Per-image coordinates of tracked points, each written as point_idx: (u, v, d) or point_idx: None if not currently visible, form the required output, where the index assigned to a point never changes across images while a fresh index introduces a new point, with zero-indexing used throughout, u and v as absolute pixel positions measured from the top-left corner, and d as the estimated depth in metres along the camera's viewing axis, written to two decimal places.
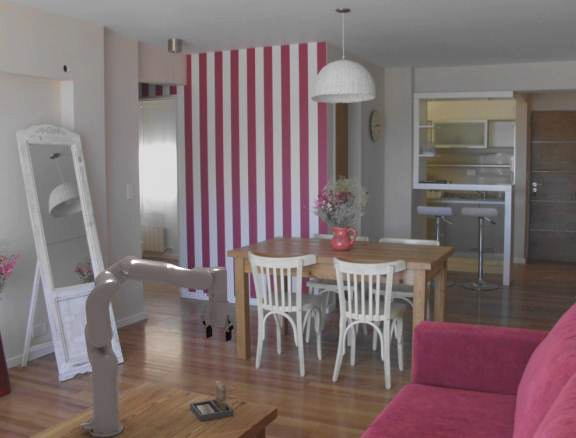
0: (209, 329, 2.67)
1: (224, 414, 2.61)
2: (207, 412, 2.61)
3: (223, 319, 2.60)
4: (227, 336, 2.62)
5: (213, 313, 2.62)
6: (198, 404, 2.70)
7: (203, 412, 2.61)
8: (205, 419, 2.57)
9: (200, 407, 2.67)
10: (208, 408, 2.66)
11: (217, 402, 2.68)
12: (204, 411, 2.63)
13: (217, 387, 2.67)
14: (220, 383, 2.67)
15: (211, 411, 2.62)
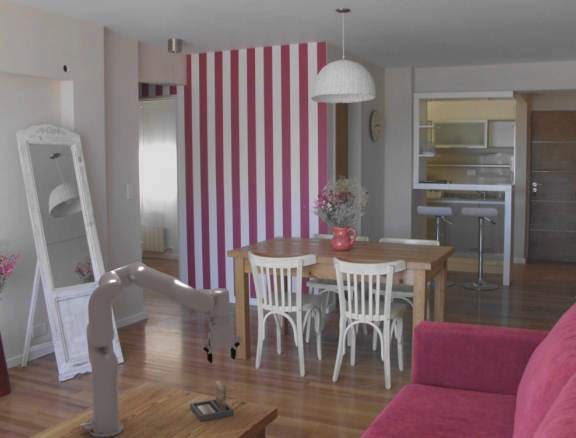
0: None
1: (224, 414, 2.61)
2: (208, 412, 2.62)
3: (233, 338, 2.64)
4: (234, 354, 2.66)
5: (222, 335, 2.62)
6: (198, 404, 2.70)
7: (204, 412, 2.61)
8: (205, 419, 2.57)
9: (201, 407, 2.67)
10: (208, 408, 2.66)
11: (217, 402, 2.68)
12: (205, 411, 2.63)
13: (217, 387, 2.67)
14: (220, 383, 2.67)
15: (212, 411, 2.62)
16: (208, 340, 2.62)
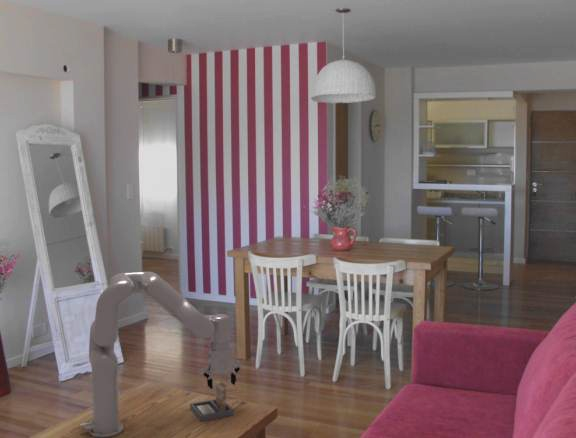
0: None
1: (224, 414, 2.61)
2: (208, 412, 2.61)
3: (233, 364, 2.65)
4: (234, 379, 2.68)
5: (222, 361, 2.63)
6: (198, 404, 2.70)
7: (204, 412, 2.61)
8: (205, 419, 2.57)
9: (200, 407, 2.66)
10: (208, 408, 2.66)
11: (217, 402, 2.68)
12: (205, 411, 2.63)
13: (217, 387, 2.67)
14: (220, 383, 2.67)
15: (212, 411, 2.62)
16: (208, 366, 2.63)
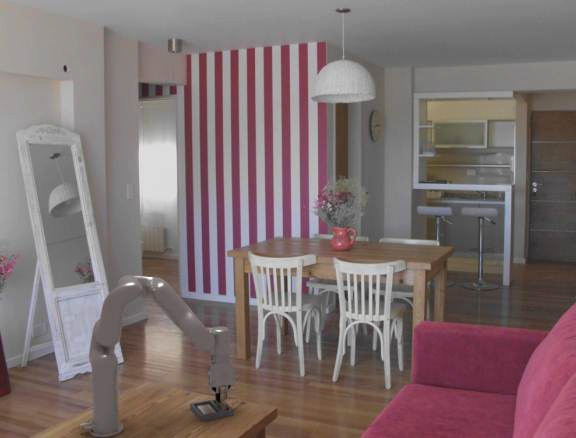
0: None
1: (224, 414, 2.61)
2: (208, 412, 2.62)
3: (233, 376, 2.66)
4: None
5: (221, 374, 2.63)
6: (198, 404, 2.70)
7: (204, 412, 2.61)
8: (205, 419, 2.57)
9: (201, 407, 2.67)
10: (208, 408, 2.66)
11: (217, 402, 2.68)
12: (205, 411, 2.63)
13: None
14: None
15: (212, 411, 2.63)
16: None
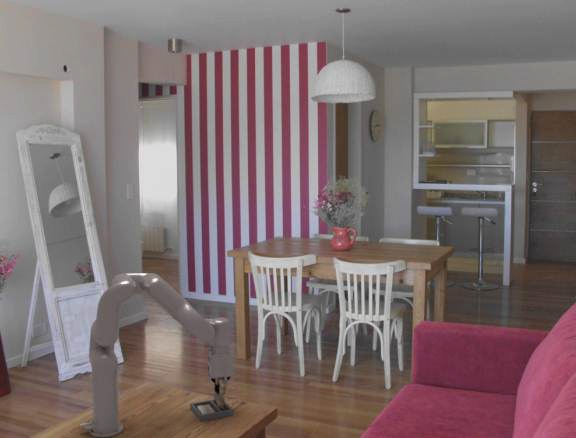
0: None
1: (224, 414, 2.61)
2: (207, 412, 2.61)
3: (232, 368, 2.65)
4: None
5: (221, 365, 2.63)
6: (198, 404, 2.70)
7: (203, 412, 2.61)
8: (205, 419, 2.57)
9: (200, 407, 2.67)
10: (208, 408, 2.66)
11: (216, 393, 2.69)
12: (204, 411, 2.62)
13: None
14: None
15: (211, 411, 2.62)
16: None
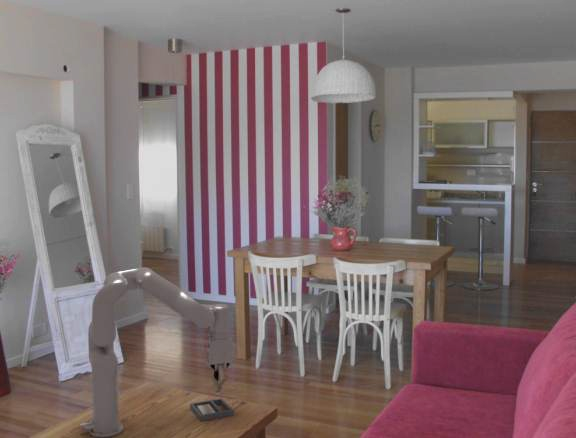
0: None
1: (224, 414, 2.61)
2: (208, 412, 2.61)
3: (232, 354, 2.64)
4: None
5: (220, 351, 2.62)
6: (198, 404, 2.70)
7: (204, 412, 2.61)
8: (205, 419, 2.57)
9: (201, 407, 2.67)
10: (208, 408, 2.66)
11: None
12: (205, 411, 2.62)
13: (218, 369, 2.64)
14: (222, 368, 2.63)
15: (212, 411, 2.62)
16: None
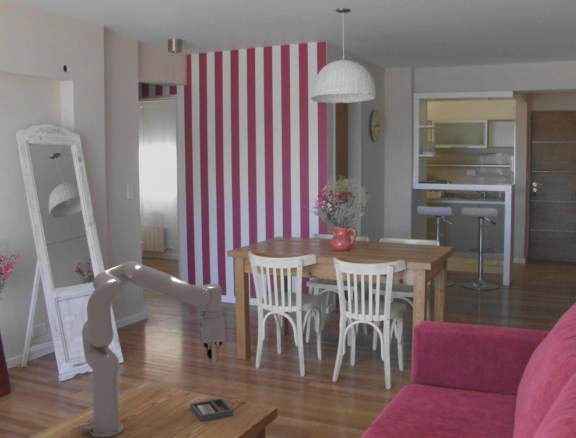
0: None
1: (224, 414, 2.61)
2: (208, 412, 2.61)
3: (224, 333, 2.70)
4: None
5: (213, 330, 2.68)
6: (198, 404, 2.70)
7: (204, 412, 2.61)
8: (205, 419, 2.57)
9: (201, 407, 2.67)
10: (208, 408, 2.66)
11: None
12: (205, 411, 2.62)
13: (211, 350, 2.69)
14: (215, 351, 2.67)
15: (212, 411, 2.62)
16: None
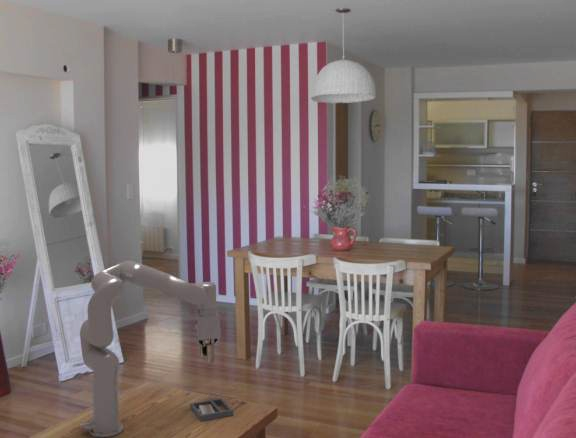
0: None
1: (224, 414, 2.61)
2: (208, 412, 2.61)
3: (219, 330, 2.74)
4: None
5: (208, 327, 2.72)
6: (198, 404, 2.70)
7: (204, 412, 2.61)
8: (205, 419, 2.57)
9: (202, 407, 2.67)
10: (209, 408, 2.65)
11: None
12: (205, 411, 2.62)
13: (207, 350, 2.72)
14: (211, 353, 2.71)
15: (212, 412, 2.62)
16: None
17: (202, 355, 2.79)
